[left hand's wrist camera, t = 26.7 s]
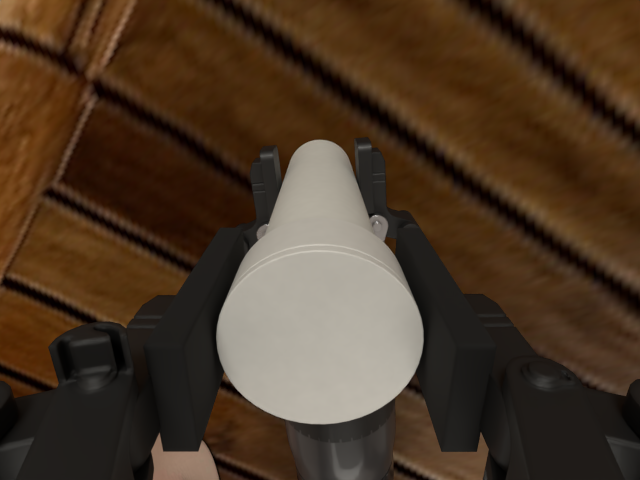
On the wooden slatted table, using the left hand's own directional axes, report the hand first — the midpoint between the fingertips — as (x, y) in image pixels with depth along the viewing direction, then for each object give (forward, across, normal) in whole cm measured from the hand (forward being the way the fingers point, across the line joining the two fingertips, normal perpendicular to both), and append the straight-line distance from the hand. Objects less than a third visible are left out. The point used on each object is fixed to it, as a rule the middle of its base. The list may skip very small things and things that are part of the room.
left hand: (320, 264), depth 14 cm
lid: (-4, 0, 0) cm, 4 cm away
